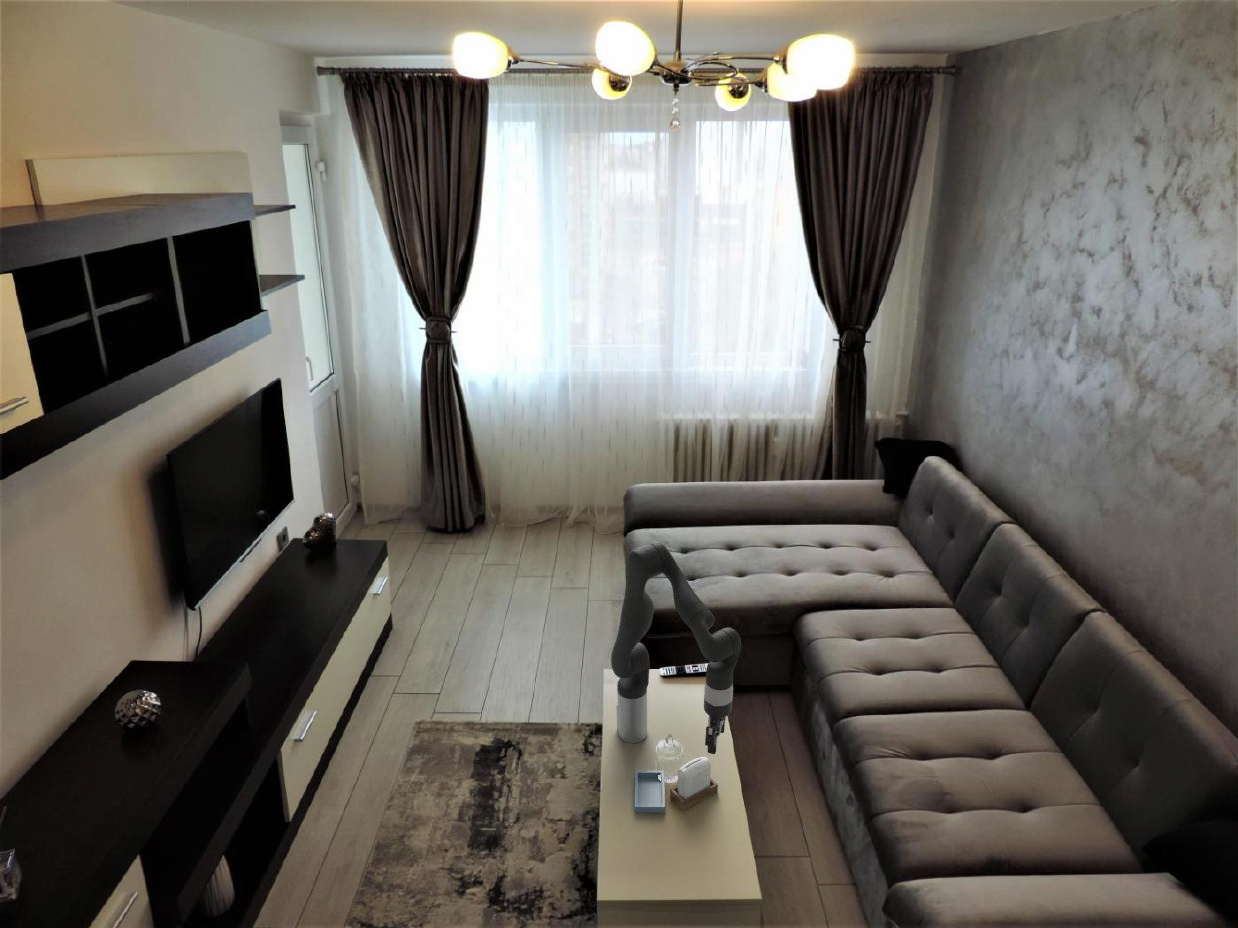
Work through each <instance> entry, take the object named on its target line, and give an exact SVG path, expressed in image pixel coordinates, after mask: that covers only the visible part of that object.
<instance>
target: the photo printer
mask: <svg viewBox="0 0 1238 928" xmlns="http://www.w3.org/2000/svg"><path fill="white" fill-rule="evenodd" d="M711 769H712V764H711V761H710V759H709V758H708V757H707V756H700V757H697V758H693V759H692V760H690V761H688V762H687V763H685V764H684V765H682V766H681V767H680V768H679V769H678V771H677V785H678V795H679V796H680V797H681V798H682V799H683V800H684V801H685V800H687V799H688V798H690V797H692V796H694V795H696V794H698V793H699V792H701V791H703V790H705V789H707V788H709V787H710V778H711V772H712V771H711Z"/></svg>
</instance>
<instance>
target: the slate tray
mask: <svg viewBox="0 0 1238 928" xmlns="http://www.w3.org/2000/svg"><path fill="white" fill-rule="evenodd" d="M660 774H661V781H660V780H659V779H658V775H660ZM665 791H666V790H665V771H664V770H635V771H634V814H664V815H665V814H666V793H665Z"/></svg>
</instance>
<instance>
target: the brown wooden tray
mask: <svg viewBox="0 0 1238 928" xmlns="http://www.w3.org/2000/svg"><path fill="white" fill-rule="evenodd" d="M718 788H719V785H718V783H716V781H715V780H713V779H712V777H710V787H709V788H707V789H705V790H703V791H701V792H699V793H698V794H696V795H694V796H692V797H690V798H688V799H687V800H685V801H684V800H683V799H682V798H681V797H680V796H679V795H678V784H677V785H675V786H673V787H671V788H670V789H669V797H670V798H671V799H672V800H673V802H675V804H676V805H677V806H678V807H680V809H681V810H682V811H683V812H685V811H686V810H689V809H690V808H692V807H694V806H696V805H698V804H700V803H701V802H704V801H705V800H707V799H708V798H711V797H712V796H714V795H716V794H718V791H719V789H718Z"/></svg>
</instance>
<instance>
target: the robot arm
mask: <svg viewBox="0 0 1238 928" xmlns="http://www.w3.org/2000/svg"><path fill="white" fill-rule="evenodd" d="M625 574H626V575H625V590H624V598H623V602H622V607H621V612H620V621H619V625H618V631H617V635H616V638H615V642H614V644H613V648H612V652H611V656H610V663H611V670H612V671H613V674H614V675H615V676H616V677H617V678H619V679H618V681H617V684H616V685H617V686H616V689H617V690H616V691H617V693H616V694H617V705H616V729H617V733H618V737H619V739H621V740H622V741H624V742H626V743H628V744H637V743H640V742H642V741H644V740H645V739H646V738H647V736H648V686H649V682H650V681H649V680H650V663H651V662H650V656H649V651H648V650H647V649H648V648H647V647H646V646H645V644H643V643H642V642H640V641H641V640H642V639H643V638H644V636H645V635H646V634H647V632H648V631H649V629H650V627H651V625H652V621H653V618H654V612H655V604H654V602H653V599H652V598H651V597H650V596H649V594H648V593H647V592H646V585H647V583H648V581H649V580H651V579H653V578H655V577H657V576H659V575H661V574H663V575H664V576H665V577H666V578H667V579H668V581H669V583H670V585H671V587H672V588H671V589H672V594H673V595H672V597H673V604H674V607H675V610H676V612H677V614H678V615H679V617H680V618H681V619H682V621H683V622H684V623H685V624H686V625H687V626H688V628H689V629H690V630H691V632H692V634H693V636H694V639H695V640H696V642H697V643H696V644H697V645H698V647H699V650H700V653H701V654H702V656H703V657H704V658H705V659H706V660H707V661H709V662H708V663H707V665H706V670H705V671H706V672H705V673H706V674H705V684H704V690H703V691H704V692H703V693H704V694H703V695H704V696H703V698H704V699H703V710H704V712H705V714H707V715H708V718H707V725H706V727H705V742H704V745H705V746H707V753H708V754H712V755H715V754H716V753H717V744H718V737H719V736H720V735H721V734H724V733H725V726H726V725H725V723H726V721H727V717H728V716H729V715H731V713H732V710H733V697H734V685H733V682H734V681H733V680H734V679H733V678H734V670H735V667H736V666H737V662H738V659H739V657H740V654H741V649H742V642H741V637H740V634H739V633H738V632H737V630H736V629H734V628H732V627H723V628H721V629H719V630H717V631H715V632H713V633H711V632H710V629H711V628H712V627H713V626H714V624H715V621H716V618H715V616H714V615H713V613H712V611H711V610H710V609H709V608H708V607H707V606H706V604H705V603H704V602H703V601H702V599H701V598H699V596H698V595H697V594H696V592H695V591H694V589H693V588H692V586H691V585H690V583H689V582H688V579H687V578H686V576H685V574H684V573H683V571H682V569H681V568H680V567H679V565H678V564H677V562H676V560H675V558H674V556H673V555H672V553H671V551H670V550H669V549H668V548H667V547H666V546H665V544H663V543H662V542H660V541H658V540H654V541H651V542H647V543H646V544H642V545H640V546H638V547H636V548H633V549H632V550H630V552H629V553H628V555H627V559H626V573H625Z"/></svg>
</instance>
